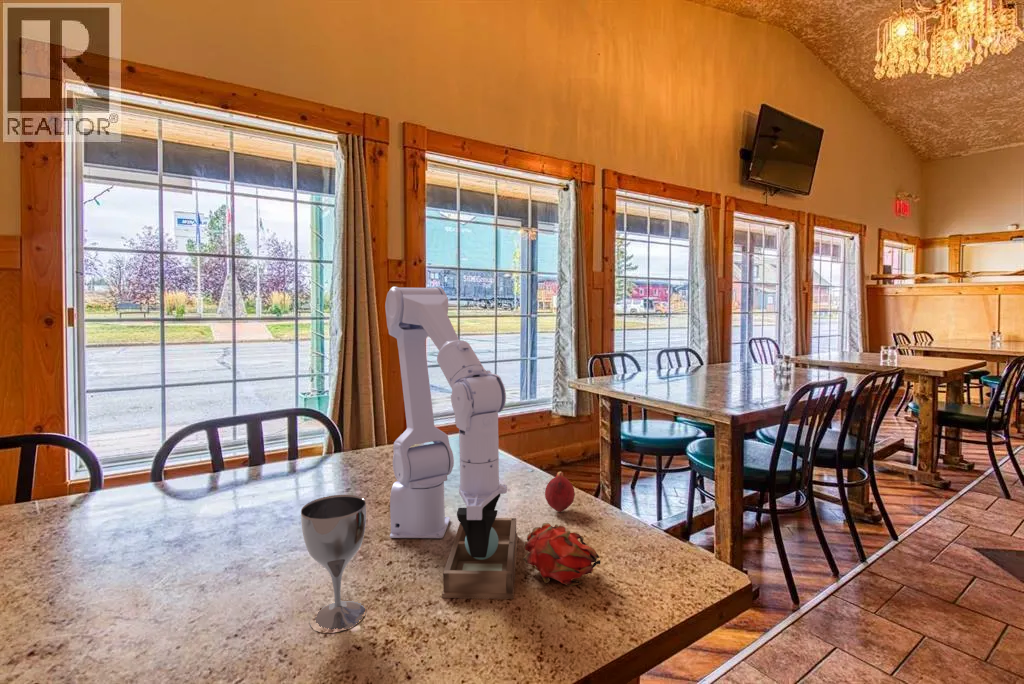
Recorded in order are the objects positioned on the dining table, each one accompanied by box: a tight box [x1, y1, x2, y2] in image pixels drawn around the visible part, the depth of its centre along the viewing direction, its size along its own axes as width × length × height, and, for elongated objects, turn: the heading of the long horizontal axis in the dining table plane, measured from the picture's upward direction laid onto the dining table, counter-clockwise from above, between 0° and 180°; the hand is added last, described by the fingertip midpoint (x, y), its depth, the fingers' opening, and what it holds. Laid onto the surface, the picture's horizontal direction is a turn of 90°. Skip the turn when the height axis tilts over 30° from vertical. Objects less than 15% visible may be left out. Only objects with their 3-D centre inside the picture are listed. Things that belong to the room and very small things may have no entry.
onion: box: [544, 471, 576, 513], centre depth 99 cm, size 6×6×8 cm
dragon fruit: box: [522, 522, 601, 587], centre depth 76 cm, size 8×8×12 cm
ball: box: [465, 527, 498, 560], centre depth 75 cm, size 5×5×5 cm
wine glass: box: [300, 494, 367, 630], centre depth 66 cm, size 8×8×15 cm
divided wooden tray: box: [441, 517, 519, 600], centre depth 80 cm, size 10×19×3 cm, turn 177°
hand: (480, 547), depth 75 cm, fingers closed on ball, 5 cm apart
